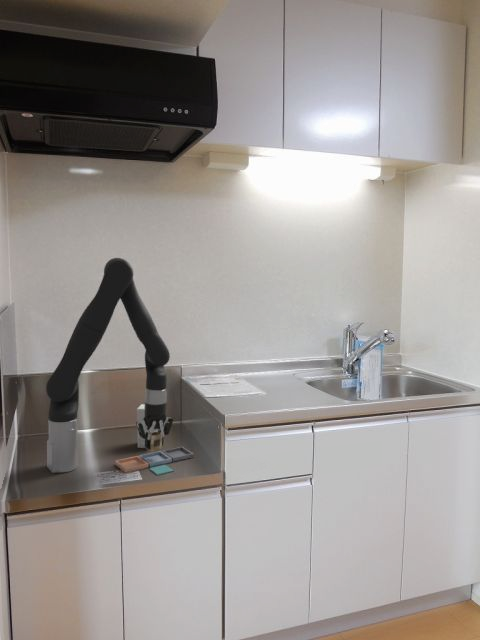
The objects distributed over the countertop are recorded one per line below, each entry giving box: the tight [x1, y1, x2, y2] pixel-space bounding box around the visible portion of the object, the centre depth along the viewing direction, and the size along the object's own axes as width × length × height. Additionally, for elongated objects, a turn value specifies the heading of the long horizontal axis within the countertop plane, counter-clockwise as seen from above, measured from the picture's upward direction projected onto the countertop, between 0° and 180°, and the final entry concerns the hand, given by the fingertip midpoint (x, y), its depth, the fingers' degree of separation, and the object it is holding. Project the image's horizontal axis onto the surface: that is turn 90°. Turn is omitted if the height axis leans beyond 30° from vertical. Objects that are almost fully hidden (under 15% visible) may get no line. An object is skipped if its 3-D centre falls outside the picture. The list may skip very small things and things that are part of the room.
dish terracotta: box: [114, 455, 149, 474], centre depth 180 cm, size 8×8×2 cm
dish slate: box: [138, 451, 173, 468], centre depth 185 cm, size 8×8×2 cm
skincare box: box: [136, 403, 158, 449], centre depth 200 cm, size 8×7×16 cm
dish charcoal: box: [161, 446, 195, 463], centre depth 191 cm, size 8×8×2 cm
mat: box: [148, 464, 174, 476], centre depth 177 cm, size 6×6×1 cm
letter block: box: [146, 431, 163, 453], centre depth 185 cm, size 4×4×6 cm
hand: (154, 447), depth 185 cm, fingers closed on letter block, 4 cm apart
